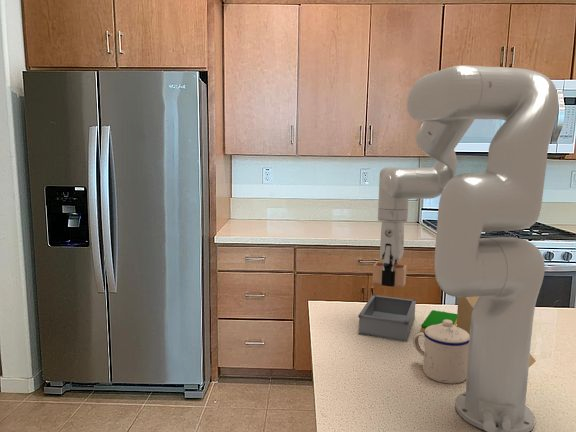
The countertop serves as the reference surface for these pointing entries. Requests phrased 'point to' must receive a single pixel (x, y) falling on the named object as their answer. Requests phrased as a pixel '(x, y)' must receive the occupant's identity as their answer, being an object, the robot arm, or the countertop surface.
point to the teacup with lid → (444, 352)
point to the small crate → (399, 274)
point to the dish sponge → (438, 319)
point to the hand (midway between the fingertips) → (389, 282)
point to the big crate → (387, 318)
